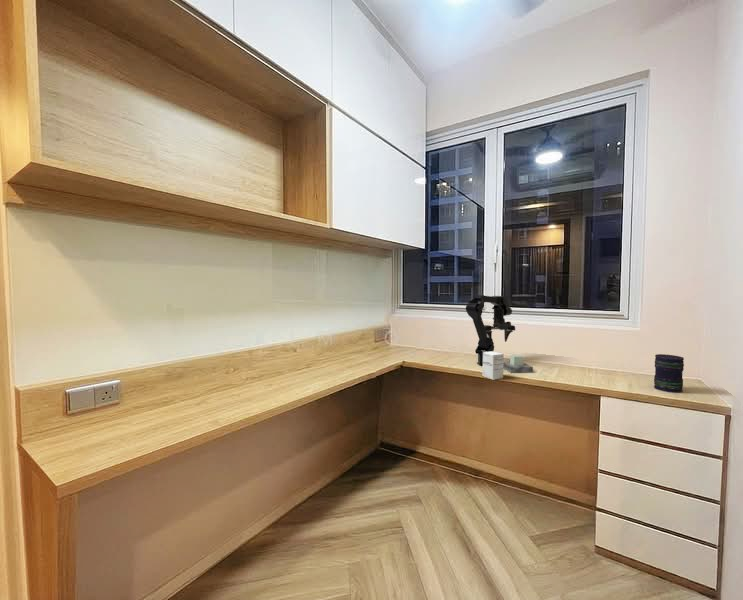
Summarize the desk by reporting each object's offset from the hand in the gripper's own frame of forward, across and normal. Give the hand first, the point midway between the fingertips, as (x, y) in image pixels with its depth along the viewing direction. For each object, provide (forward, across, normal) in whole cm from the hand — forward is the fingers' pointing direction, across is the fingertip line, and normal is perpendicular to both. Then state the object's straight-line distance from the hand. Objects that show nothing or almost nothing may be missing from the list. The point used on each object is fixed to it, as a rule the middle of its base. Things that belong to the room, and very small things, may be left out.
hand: (498, 341), depth 207 cm
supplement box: (+12, -18, -34) cm, 40 cm away
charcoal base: (+12, +1, -21) cm, 24 cm away
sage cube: (+9, +1, -21) cm, 23 cm away
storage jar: (+12, +52, -59) cm, 80 cm away
